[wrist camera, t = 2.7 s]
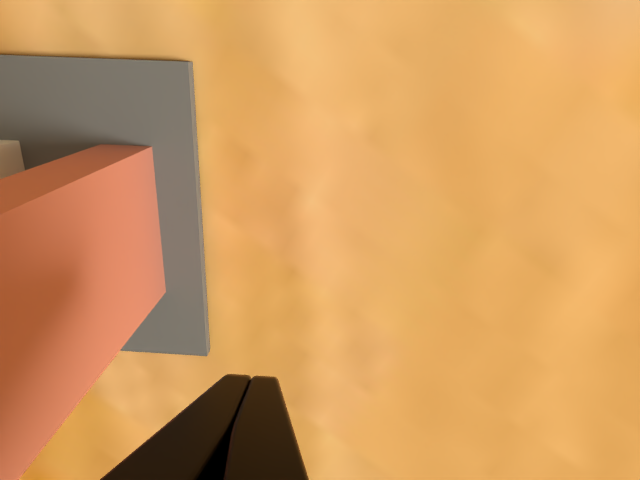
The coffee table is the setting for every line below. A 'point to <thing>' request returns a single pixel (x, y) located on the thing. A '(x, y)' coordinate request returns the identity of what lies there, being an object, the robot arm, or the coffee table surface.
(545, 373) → the coffee table surface
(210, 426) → the robot arm
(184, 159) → the mat
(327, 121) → the coffee table surface
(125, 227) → the domino
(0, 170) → the domino
